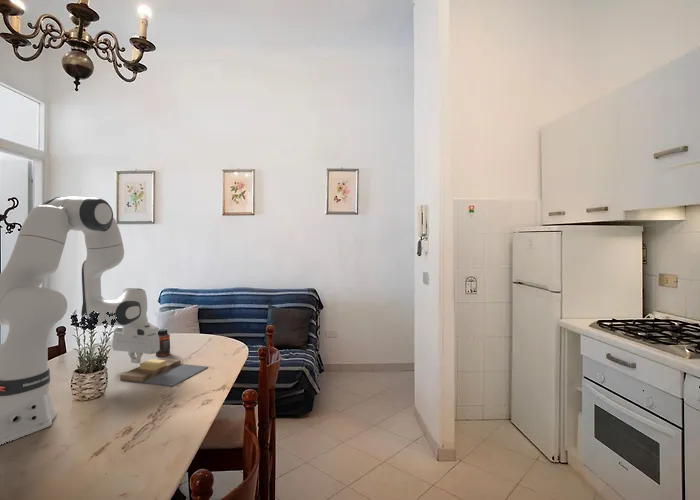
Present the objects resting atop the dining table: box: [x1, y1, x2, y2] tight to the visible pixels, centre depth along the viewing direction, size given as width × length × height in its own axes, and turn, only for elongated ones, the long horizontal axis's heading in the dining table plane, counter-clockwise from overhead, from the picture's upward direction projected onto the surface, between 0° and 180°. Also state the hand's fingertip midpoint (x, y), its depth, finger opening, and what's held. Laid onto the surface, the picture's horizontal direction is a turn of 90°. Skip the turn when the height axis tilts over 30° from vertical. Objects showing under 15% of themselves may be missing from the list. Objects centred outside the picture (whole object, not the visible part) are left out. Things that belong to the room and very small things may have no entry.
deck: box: [119, 357, 182, 384], centre depth 148 cm, size 20×10×2 cm, turn 164°
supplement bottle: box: [155, 328, 171, 357], centre depth 169 cm, size 6×6×11 cm
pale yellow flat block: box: [139, 358, 166, 370], centre depth 148 cm, size 6×7×2 cm
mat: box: [142, 363, 209, 387], centre depth 145 cm, size 20×13×1 cm, turn 164°
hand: (135, 362), depth 150 cm, fingers closed
